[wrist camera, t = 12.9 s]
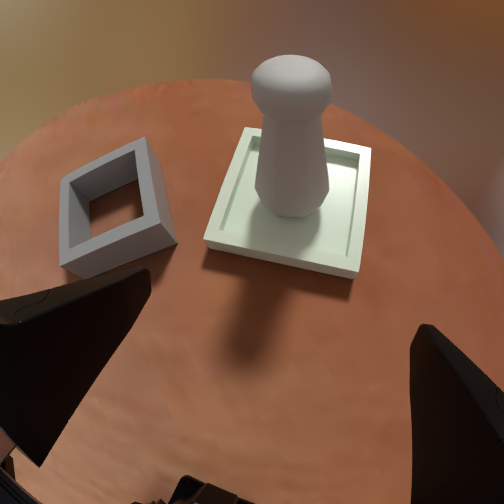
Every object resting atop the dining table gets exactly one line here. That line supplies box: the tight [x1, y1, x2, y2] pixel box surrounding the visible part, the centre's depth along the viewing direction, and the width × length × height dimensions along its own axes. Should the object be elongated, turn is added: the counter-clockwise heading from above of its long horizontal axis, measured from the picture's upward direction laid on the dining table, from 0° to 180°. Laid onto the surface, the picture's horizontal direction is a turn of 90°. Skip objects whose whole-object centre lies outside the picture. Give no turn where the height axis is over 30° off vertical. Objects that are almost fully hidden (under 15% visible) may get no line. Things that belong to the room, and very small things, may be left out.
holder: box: [59, 137, 177, 280], centre depth 25 cm, size 10×10×4 cm
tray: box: [203, 127, 371, 279], centre depth 25 cm, size 12×12×2 cm
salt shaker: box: [251, 55, 332, 218], centre depth 19 cm, size 6×6×13 cm
